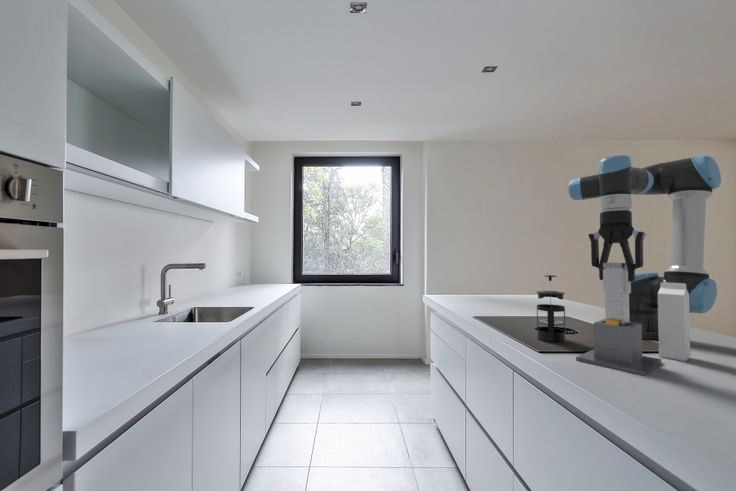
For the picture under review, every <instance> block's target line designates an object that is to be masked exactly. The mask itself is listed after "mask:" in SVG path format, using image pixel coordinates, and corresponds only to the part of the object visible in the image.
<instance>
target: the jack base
mask: <svg viewBox="0 0 736 491" xmlns="http://www.w3.org/2000/svg"><path fill="white" fill-rule="evenodd" d="M629 323H630V326H622V325H620V321H616V320H609V319H607V320H606V318H604V319H599V320H597V321H595V322H593V349H591V350H589V351H587V352H584V353H582V354H580V355H578V356H575V357H576V358H575V360H576V362H581V363H586V364H590V365H591V364H592V365H595V366H600V367H605V368H609V369H613V370H619V371H623V372H627V373H633V374H636V375H641V376H646V375H647V374H648V373H650V372H651V371H652V370H654V369H655V368H656V367H658V366H659V365H660V364H662V358H656V357H651V356H646V355H643V339H642V323H635V322H629Z"/></svg>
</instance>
